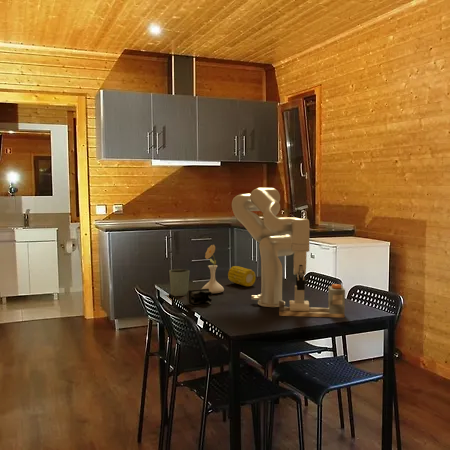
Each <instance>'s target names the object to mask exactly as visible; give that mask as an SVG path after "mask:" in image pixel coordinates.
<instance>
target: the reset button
mask: <svg viewBox="0 0 450 450" xmlns="http://www.w3.org/2000/svg"><path fill="white" fill-rule="evenodd" d="M331 286H332V288H334V289H341V287H342V286H343V285H342V284H338V283H333V284H331Z"/></svg>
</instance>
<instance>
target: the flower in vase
mask: <svg viewBox="0 0 450 450" xmlns="http://www.w3.org/2000/svg"><path fill="white" fill-rule="evenodd" d="M215 252H216V246H215V244H211V245H210V246H209V247H207V250H206V252H205V254H204V255H205V256H204V258H205V259H206V260H208V259H209V261H210V263H211V265H207V268H209V270H210V271H209V272H210V279H209V281H208V282H207V283H206V284H205V285H204V286H202V288H201V289H209V291H210V292H211V293H212V294H220V293H222V292H224V290H225V288H224V286H222V285H221V284H220V283H219V282H218V281H217V280H216V272H217V271H216V270H217V268H218V265H217V260H216V259H215V255H214V253H215ZM211 257H213V259H212V258H211Z"/></svg>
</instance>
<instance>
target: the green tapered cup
mask: <svg viewBox="0 0 450 450" xmlns="http://www.w3.org/2000/svg"><path fill="white" fill-rule="evenodd" d="M168 272H169V284H170V295H171V296H174V297H182V296H183V297H184V296H187V292H188V291H189V280H190V272H191V271H190V270H189V269H183V268H181V269H180V268H176V269H174V268H173V269H169V271H168Z"/></svg>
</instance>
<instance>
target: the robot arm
mask: <svg viewBox="0 0 450 450" xmlns="http://www.w3.org/2000/svg"><path fill="white" fill-rule="evenodd" d="M280 201H281V194H280V192H279V190H278V189H276V188H274V187H257V188H255V189H253V190H252V191H251V192H250V193H239V194H238V195H236V196H235V197H233V199H232V201H231V210H232V213H233V215H234V217H235V219H237V221H238V222H239V223H240V224H241V225H242V226H244V228H245V229H246V231H247V232H248V233H249V234H250V236H251V237H252V238H253V239H254V240H255V241H256V242H258V243H259V246H258V247H259V253H260V263H261V269H260V270H261V275H260V276H261V277H260V278H261V280H260V281H261V282H260V283H261V285H260V286H261V290H260V291H261V292H260V294H257V295H256V294H252V295H251V300H254V301H257V305H258V306H261V307H265V308H279V301H283V264H282V262H281V259H280V258H279V257H285V256H286V257H288V256H291V255H293V275H294V276H296V278H295V285H297V290H304V291H305V290H306V280H305V276H306V274H307V253H309V252H310V220H309V219H308V218H299V217H294V216H293V217H292V216H291V217H290V216H289V217H277V215H278V214H279V212H280V210H281V204H280ZM255 212H261V213H262V214H263V216H262V217H263V219H261V217H260V216H259V215H258V214H257V213H255ZM284 306H286V301H284Z"/></svg>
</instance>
